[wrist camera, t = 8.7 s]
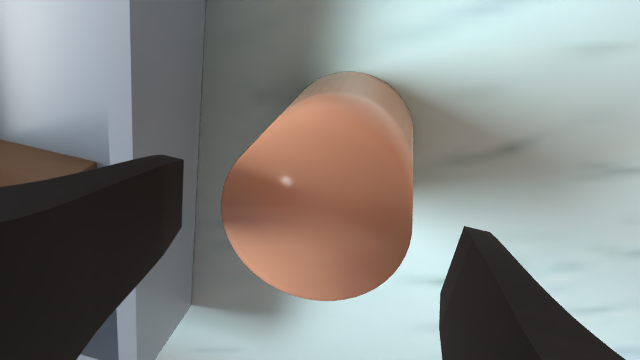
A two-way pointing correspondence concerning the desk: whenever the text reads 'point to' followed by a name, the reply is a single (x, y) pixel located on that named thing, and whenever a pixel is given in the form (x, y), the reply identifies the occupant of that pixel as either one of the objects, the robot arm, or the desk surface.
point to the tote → (113, 122)
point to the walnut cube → (36, 164)
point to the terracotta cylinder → (326, 191)
